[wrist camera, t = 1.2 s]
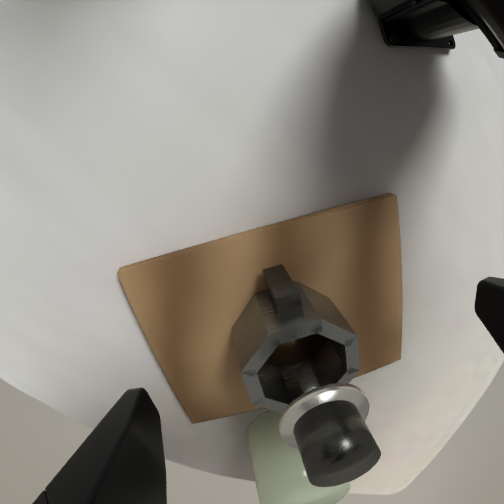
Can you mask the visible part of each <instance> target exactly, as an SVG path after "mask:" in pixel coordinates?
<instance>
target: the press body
mask: <svg viewBox="0 0 504 504" xmlns="http://www.w3.org/2000/svg"><path fill="white" fill-rule="evenodd" d="M262 271H263V275H264V279H265V283H266V287H267V290H263V291H260V292H256V293H254V294H253V296H252V297H251V299H250V301H249V302H248V304H247V305H246V307H245V308H244V310H243V311H242V313H241V314H240V316H239V317H238V319H237V320H236V322H235V323H234V325H233V326H232V328H233V333H234V339H235V344H236V350H237V356H238V361H239V366H240V372H241V375H242V378H243V380H244V383H245V386H246V388H247V391H248V394H249V396H250V399H251V401H252V404H253V405H255V406H259V407H262V408H266V409H269V410H273V411H277V412H280V413H282V412H283V411H284V410H285V408H286V407H287V406H288V405H289V404H290V403H291V402H292V401H294V400H295V399H296V398H298V397H299V396H301V395H302V394H304V392H303V390H302V387H301V385H300V382H299V380H298V377H297V375H296V370H297V368H298V367H299V366H301V365H309V366H310V367H311V369H312V371H313V373H314V375H315V377H316V379H317V382H318V384H319V386H324V385H328V384H335V383H346V384H348V383H349V382H350V381H351V380H352V379H353V378H354V377H355V375H356V374H357V373H358V372H359V371H360V364H359V346H358V335H357V334H356V333H355V331H354V330H353V328H352V327H351V326H350V324H349V323H348V322H347V320H346V319H345V318H344V316H343V315H342V314H341V312H340V311H339V310H338V308H337V307H336V306H335V304H334V303H333V302H332V300H331V299H330V298H329V297H327V296H325V295H323V294H321V293H319V292H317V291H316V290H314V289H312V288H310V287H308V286H306V285H304V284H302V283H300V282H298V281H294V282H293V281H292V279H291V277H290V276H289V274H288V273H287V271H286V269H285V268H284V266H283V264H280V265H277V266H273V267H270V268H266V269H263V270H262Z"/></svg>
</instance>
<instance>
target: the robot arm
mask: <svg viewBox="0 0 504 504" xmlns="http://www.w3.org/2000/svg"><path fill="white" fill-rule="evenodd" d="M371 3H372V6H373V9H374V12H375V15H376V17H377V19H378V22H379V25H380V29H381V32H382V35H383V39H384V41H385V43H386V44H387V45H388V46H389V47H411V48H433V49H447V50H450V49H454V48H455V41H454V37H453V35H455V34H459V33H463V32H467V31H471V30H475V29H480V30H481V31H482V32H483V34H484V35H485V36H486V38H487V39H488V41H489V42H490V43H491V45H492V46H493V48H494V51H495V53H496V54H497V56H498V57H500V58H504V0H371ZM390 37H391V38H392V39H393V42H392V41H391V40H390ZM448 42H449V43H450V44H449V43H448ZM475 312H476V314H477V316H478V317H479V319H480V320H481V321H482V323H483V324H484V326H485V327H486V328H487V330H488V331H489V333H490V334H491V336H492V337H493V339H494V340H495V342H496V343H497V345H498V346H499V347H500V349H501V350H502V352H503V353H504V279H502V278H495V277H487V278H485V279H483V280H481V281H480V282H479V283H478V285H477V292H476V300H475ZM45 490H46V491H43V492H42V493H41V494H40V495H39V496H38V498H37V499H36V500H35V501H34V502H33V504H167V499H166V498H167V496H166V468H165V459H164V450H163V442H162V432H161V422H160V415H159V412H158V410H157V408H156V407H155V405H154V403H153V402H152V400H151V398H150V396H149V395H148V393H147V391H146V390H145V389H144V388H135V389H129V390H127V391H126V392H125V393H124V394H123V395H122V396H121V398H120V399H119V400H118V401H117V402H116V404H115V405H114V406H113V407H112V408H111V410H110V411H109V412H108V413H107V414H106V416H105V417H104V418H103V419H102V420H101V422H100V423H99V424H98V425H97V426H96V428H95V429H94V430H93V431H92V433H91V434H90V435H89V436H88V437H87V438H86V440H85V441H84V442H83V443H82V444H81V446H80V447H79V448H78V449H77V451H76V452H75V453H74V454H73V456H72V457H71V458H70V459H69V460H68V461H67V463H66V464H65V465H64V466H63V467H62V469H61V470H60V471H59V472H58V473H57V475H56V476H55V477H54V478H53V480H52V481H51V482H50V483H49V484H48V486H47V487H46V488H45Z"/></svg>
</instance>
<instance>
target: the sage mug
mask: <svg viewBox="0 0 504 504" xmlns="http://www.w3.org/2000/svg"><path fill="white" fill-rule="evenodd" d="M281 414H282V413H280V412H277V411H273V410H270V411H268V412H266V413H264V414H262V415H260V416H259V417H258V418H256V419H255V420H254V421H253V422H252V423H251V425H250V426H249V428H248V430H247V440H248V445H249V450H250V456H251V461H252V466H253V471H254V476H255V481H256V486H257V491H258V496H259V501H260V504H335V503H336V502H338V501H339V500H341V499H342V498H343V497H344V496H345V495H346V494H347V493H348V491H349V489H350V484H349V482H347V483H344V484H341V485H337V486H332V487H317V486H314V485H312V484H311V483H310V482H309V479H308V476H307V473H306V470H305V467H304V464H303V461H302V458H301V455H300V452H299V449H294V448H292V447H290V446H288V445H286V444H285V443H284V442H283V440H282V438H281V435H280V432H279V428H278V422H279V418H280V416H281Z"/></svg>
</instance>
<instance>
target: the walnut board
mask: <svg viewBox="0 0 504 504" xmlns="http://www.w3.org/2000/svg"><path fill="white" fill-rule="evenodd" d="M280 264H283V266H284V268H285V269H286V271H287V273H288V274H289V276H290V277H291V279H292V281H293V282H294V281H298V282H300V283H302V284H304V285H306V286H308V287H310V288H312V289H314V290H316V291H317V292H319V293H321V294H323V295H325V296H327V297H329V298H330V299H331V300H332V302H333V303H334V304H335V306H336V307H337V308H338V310H339V311H340V312H341V314H342V315H343V316H344V318H345V319H346V320H347V322H348V323H349V324H350V326H351V327H352V328H353V330H354V331H355V333H356V334H357V335H358V346H359V364H360V371H359V372H358V373H357V374H356V375H355V377H354V378H356V377H358V376H361V375H363V374H366V373H368V372H371V371H373V370H376V369H378V368H381V367H383V366H385V365H388V364H390V363H393V362H395V361H397V360H399V359H401V342H402V264H401V244H400V229H399V217H398V206H397V196H396V195H394V194H391V193H389V194H385V195H381V196H377V197H373V198H369V199H365V200H361V201H357V202H354V203H350V204H346V205H342V206H338V207H334V208H331V209H327V210H323V211H319V212H315V213H312V214H308V215H304V216H300V217H297V218H293V219H289V220H286V221H282V222H278V223H275V224H271V225H267V226H264V227H260V228H256V229H253V230H249V231H245V232H242V233H238V234H235V235H231V236H228V237H224V238H220V239H217V240H213V241H210V242H206V243H203V244H199V245H196V246H192V247H189V248H185V249H182V250H178V251H175V252H171V253H168V254H165V255H161V256H158V257H154V258H151V259H147V260H144V261H141V262H137V263H134V264H131V265H127V266H124V267H121V268H119V270H118V272H117V274H118V277H119V279H120V282H121V284H122V286H123V289H124V291H125V293H126V296H127V298H128V300H129V302H130V305H131V307H132V309H133V311H134V313H135V316H136V318H137V320H138V322H139V324H140V326H141V328H142V331H143V333H144V335H145V337H146V339H147V341H148V343H149V345H150V347H151V349H152V351H153V353H154V355H155V357H156V359H157V361H158V363H159V365H160V366H161V368H162V370H163V372H164V374H165V376H166V378H167V380H168V381H169V383H170V385H171V387H172V389H173V391H174V392H175V394H176V396H177V398H178V399H179V401H180V403H181V405H182V406H183V408H184V410H185V412H186V413H187V415H188V417H189V418H190V420H191V422H192V423H193V424H194V423H199V422H204V421H209V420H214V419H218V418H223V417H227V416H231V415H236V414H240V413H244V412H248V411H252V410H256V409H259V408H262V407H259V406H255V405H253V404H252V401H251V399H250V396H249V394H248V391H247V388H246V386H245V383H244V380H243V378H242V375H241V372H240V366H239V361H238V356H237V350H236V344H235V339H234V333H233V328H232V326H233V325H234V323H235V322H236V320H237V319H238V317H239V316H240V314H241V313H242V311H243V310H244V308H245V307H246V305H247V304H248V302H249V301H250V299H251V297H252V296H253V294H254V293H256V292H260V291H263V290H267V287H266V283H265V279H264V275H263V271H262V270H263V269H266V268H270V267H273V266H277V265H280Z"/></svg>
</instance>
